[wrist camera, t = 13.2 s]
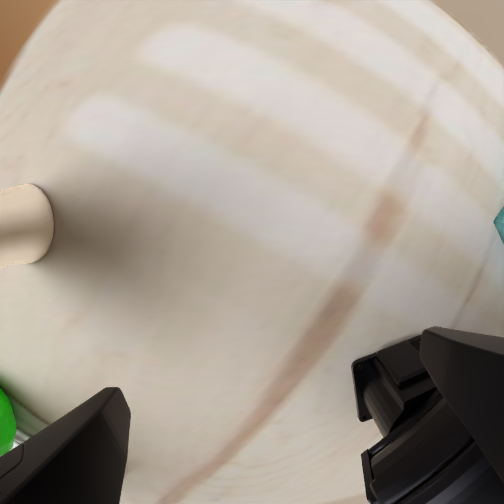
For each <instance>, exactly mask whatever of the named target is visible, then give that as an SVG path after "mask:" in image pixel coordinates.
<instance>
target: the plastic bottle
mask: <svg viewBox="0 0 504 504" xmlns="http://www.w3.org/2000/svg"><path fill="white" fill-rule="evenodd" d="M16 429H17V427H16V421H15V417H14V414H13V408H12V406H11V403H10V401H9V398H8V397H7V396H6V394H5V393H4V392H3V391H2V389H1V388H0V456H1V455H3V454H5V453H7V452H9V450H10V449H11V448H12V446H13V442H14V437H15V433H16Z"/></svg>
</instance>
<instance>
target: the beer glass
mask: <svg viewBox="0 0 504 504" xmlns="http://www.w3.org/2000/svg"><path fill="white" fill-rule="evenodd" d="M53 232H54V218H53V212H52V208H51V205H50V202H49V200H48V198H47V197H46V195H45V194H44V192H43V191H42V190H41V189H39V188H38V187H36V186H34V185H31V184H21V185H17V186H14V187H11V188H7V189H2V190H0V269H1V268H3V267H6V266H9V265H14V264H29V263H33V262H36V261H38V260H39V259H41V258H42V257H43V256H44V255H45V254H46V252H47V251H48V249H49V247H50V244H51V242H52V238H53Z"/></svg>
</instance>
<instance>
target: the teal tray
mask: <svg viewBox="0 0 504 504" xmlns="http://www.w3.org/2000/svg"><path fill="white" fill-rule="evenodd" d="M494 223H495V225H496V227H497V230H498V232H499V234H500V236H501V239H502V241H503V243H504V207H503V208H502V210H501V211H500V213H499V214H498V216H497V217H496V219H495V220H494Z"/></svg>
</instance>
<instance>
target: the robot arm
mask: <svg viewBox="0 0 504 504" xmlns="http://www.w3.org/2000/svg"><path fill="white" fill-rule="evenodd" d="M420 341H421V343H419V342H420ZM358 365H360V367H358V368H356V367H357V366H358ZM351 369H352V375H353V382H354V390H355V397H356V405H357V413H358V418H359V420H360V421H361V422H364V421H367V420H370V419H372V418H373V419H374V421H375V423H376V425H377V426H378V428H379V430H380V432H381V434H382V436H383V437H384V438H383V439H382V440H380V441H379V442H378V443H377V444H375V445H374V446H373V447H371V448H370V449H369V450H368V449H367V450H366V451H364V452H363V453H362V454H361V458H362V467H363V474H364V481H365V489H366V497H367V500H368V501H369V502H370V503H371V504H504V338H503V337H496V336H490V335H483V334H477V333H471V332H464V331H458V330H452V329H447V328H441V327H430V328H428V329H425V330H424V331H423V332H422V335H419V336H416V337H414V338H412V339H409V340H407V341H403V342H401V343H399V344H396V345H394V346H391V347H389V348H386V349H383V350H381V351H379V352H377V353H374V354H372V355H369V356H366V357H364V358H361V359H358V360H356V361H354V362H353V363H352V365H351ZM363 416H364V417H363ZM130 418H131V413H130V409H129V407H128V404H127V402H126V400H125V398H124V395H123V393H122V391H121V389H120V388H118V387H106V388H104V389H103V390H101V391H100V392H98V393H97V394H96V395H94V396H93V397H91V398H90V399H88V400H87V401H85V402H84V403H82V404H81V405H79V406H78V407H76V408H75V409H73V410H72V411H70V412H69V413H67V414H66V415H64V416H63V417H61V418H60V419H58V420H57V421H55V422H54V423H52V424H51V425H49V426H48V427H46V428H45V429H43V430H42V431H40V432H39V433H37V434H35V435H34V436H32V437H31V438H29V439H28V440H26V441H25V442H24V443H21V444H20V445H18V446H17V447H15V448H14V449H12V450H10V451H9V452H7V453H5V454H4V455H2V456H0V504H119V502H120V496H121V490H122V484H123V478H124V473H125V467H126V462H127V454H128V441H129V429H130Z"/></svg>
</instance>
